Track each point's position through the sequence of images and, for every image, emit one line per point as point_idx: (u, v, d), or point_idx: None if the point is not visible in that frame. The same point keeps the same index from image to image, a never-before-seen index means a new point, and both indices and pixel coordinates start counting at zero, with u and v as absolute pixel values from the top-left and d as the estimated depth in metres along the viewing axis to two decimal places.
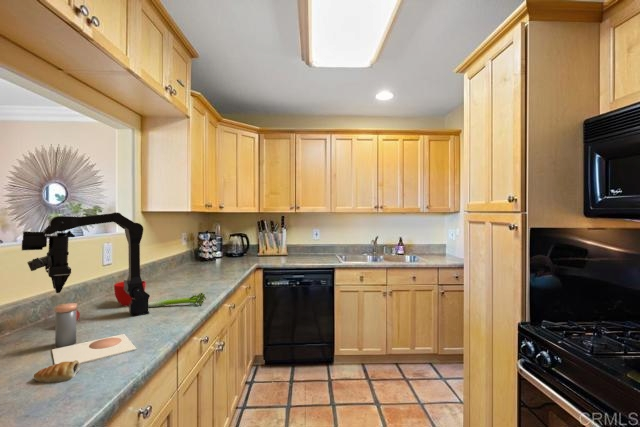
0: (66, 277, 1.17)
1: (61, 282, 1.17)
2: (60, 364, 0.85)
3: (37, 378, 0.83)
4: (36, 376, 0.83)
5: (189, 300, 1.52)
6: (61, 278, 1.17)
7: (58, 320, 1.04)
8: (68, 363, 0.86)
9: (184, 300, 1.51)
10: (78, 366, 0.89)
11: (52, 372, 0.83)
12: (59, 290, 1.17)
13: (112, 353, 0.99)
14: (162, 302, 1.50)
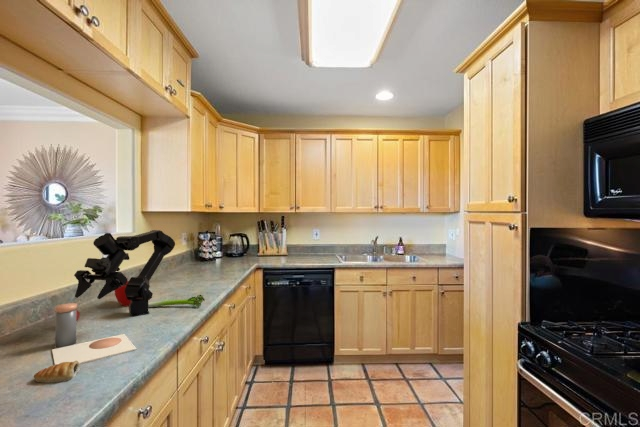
0: (115, 288, 1.19)
1: (109, 290, 1.17)
2: (60, 364, 0.85)
3: (37, 378, 0.82)
4: (36, 377, 0.82)
5: (187, 301, 1.49)
6: (111, 286, 1.18)
7: (58, 320, 1.04)
8: (68, 363, 0.86)
9: (182, 301, 1.49)
10: (78, 366, 0.88)
11: (52, 372, 0.83)
12: (101, 296, 1.14)
13: (112, 353, 0.99)
14: (161, 302, 1.49)
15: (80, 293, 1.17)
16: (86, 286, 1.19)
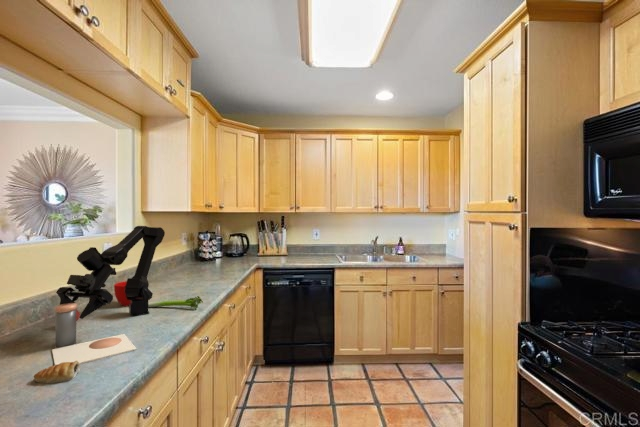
0: (99, 306, 1.12)
1: (92, 308, 1.10)
2: (60, 365, 0.85)
3: (37, 379, 0.82)
4: (36, 377, 0.82)
5: (185, 303, 1.47)
6: (95, 304, 1.11)
7: (58, 320, 1.04)
8: (68, 363, 0.86)
9: (180, 302, 1.47)
10: (78, 366, 0.88)
11: (53, 372, 0.83)
12: (84, 315, 1.08)
13: (112, 353, 0.99)
14: (160, 303, 1.48)
15: None
16: None
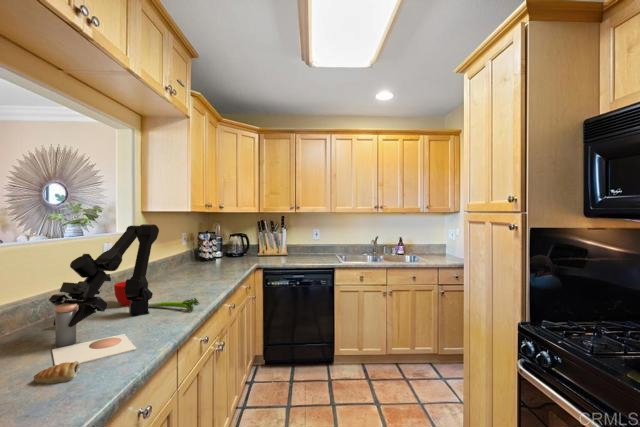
0: (89, 313, 1.10)
1: (82, 316, 1.08)
2: (60, 365, 0.85)
3: (37, 379, 0.82)
4: (36, 377, 0.82)
5: (181, 304, 1.45)
6: (84, 312, 1.09)
7: (58, 320, 1.04)
8: (69, 364, 0.86)
9: (177, 304, 1.45)
10: (78, 367, 0.88)
11: (53, 373, 0.83)
12: (73, 323, 1.05)
13: (112, 353, 0.99)
14: (159, 303, 1.48)
15: None
16: None
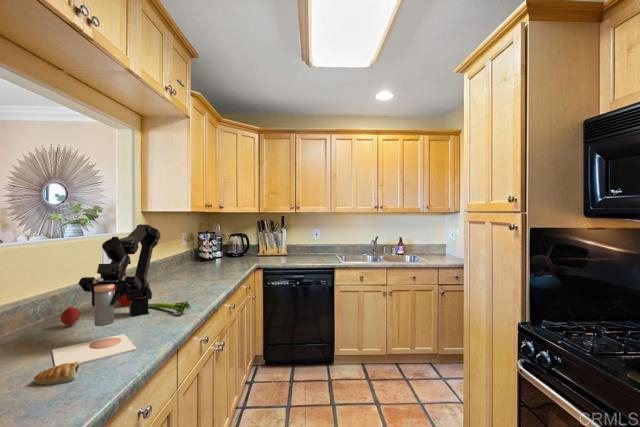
0: (125, 293, 1.15)
1: (120, 295, 1.13)
2: (61, 366, 0.85)
3: (38, 381, 0.81)
4: (37, 379, 0.81)
5: (173, 307, 1.41)
6: (121, 292, 1.14)
7: (100, 299, 1.08)
8: (69, 365, 0.86)
9: (170, 306, 1.42)
10: (79, 367, 0.88)
11: (54, 374, 0.82)
12: (114, 302, 1.10)
13: (112, 353, 0.99)
14: (156, 304, 1.47)
15: None
16: None
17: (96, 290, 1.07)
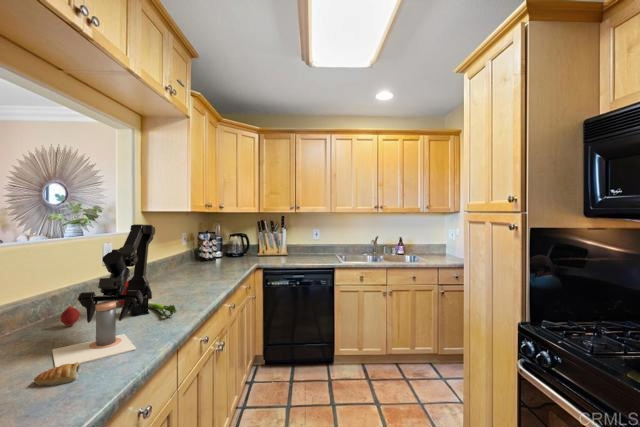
0: (131, 307, 1.12)
1: (127, 310, 1.10)
2: (62, 366, 0.84)
3: (38, 382, 0.81)
4: (37, 380, 0.81)
5: (162, 309, 1.37)
6: (128, 306, 1.11)
7: (103, 318, 1.04)
8: (70, 365, 0.85)
9: (160, 308, 1.39)
10: (79, 368, 0.88)
11: (55, 374, 0.82)
12: (122, 317, 1.07)
13: (112, 353, 0.99)
14: (153, 305, 1.45)
15: (91, 317, 1.06)
16: (93, 309, 1.08)
17: (98, 309, 1.04)
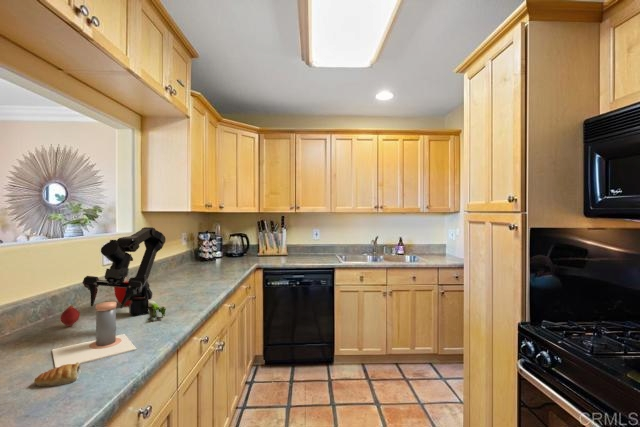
0: (131, 295, 1.23)
1: (128, 298, 1.20)
2: (62, 367, 0.84)
3: (39, 382, 0.80)
4: (38, 380, 0.81)
5: (154, 310, 1.35)
6: (129, 294, 1.21)
7: (103, 319, 1.04)
8: (70, 365, 0.85)
9: (154, 309, 1.37)
10: (80, 368, 0.87)
11: (56, 375, 0.81)
12: (123, 305, 1.18)
13: (112, 353, 0.99)
14: (152, 305, 1.45)
15: (94, 301, 1.16)
16: (96, 292, 1.18)
17: (98, 309, 1.04)
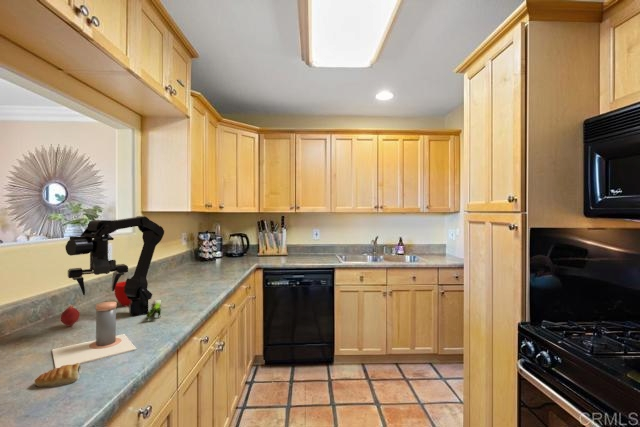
0: None
1: None
2: (63, 367, 0.84)
3: (39, 383, 0.80)
4: (38, 381, 0.80)
5: (151, 311, 1.35)
6: None
7: (103, 319, 1.04)
8: (71, 366, 0.85)
9: (152, 309, 1.37)
10: (80, 369, 0.87)
11: (57, 375, 0.81)
12: None
13: (112, 353, 0.99)
14: (154, 304, 1.46)
15: None
16: None
17: (98, 309, 1.04)
